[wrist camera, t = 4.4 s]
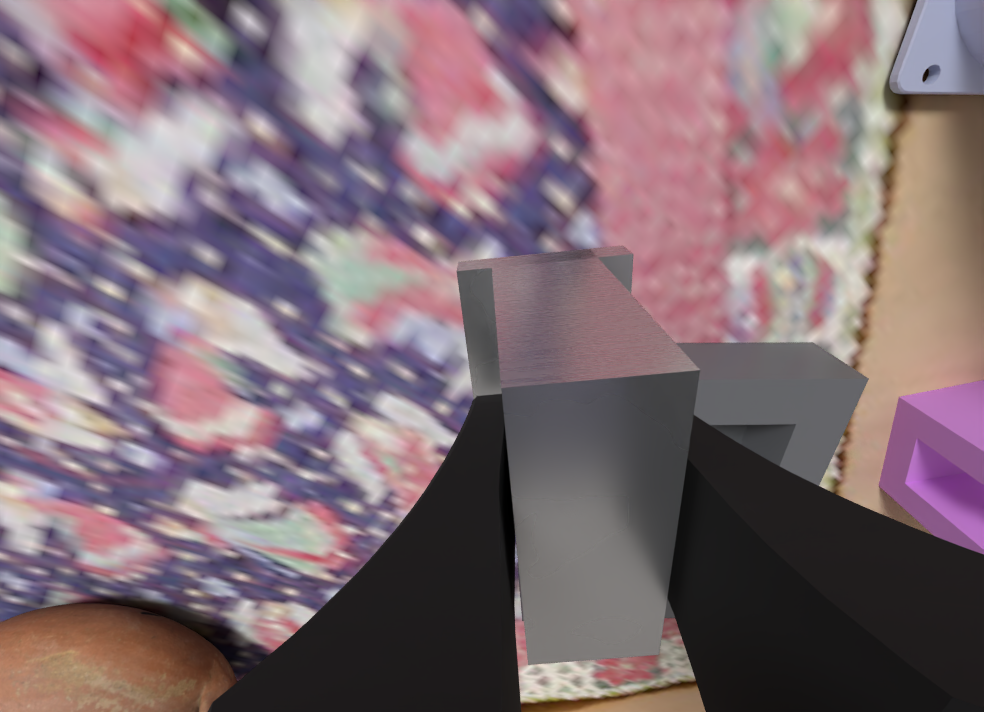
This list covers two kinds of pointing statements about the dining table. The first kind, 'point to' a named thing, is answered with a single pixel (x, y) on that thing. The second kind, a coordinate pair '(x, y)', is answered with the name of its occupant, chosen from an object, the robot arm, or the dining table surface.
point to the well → (775, 402)
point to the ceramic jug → (107, 662)
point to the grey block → (584, 443)
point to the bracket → (940, 462)
